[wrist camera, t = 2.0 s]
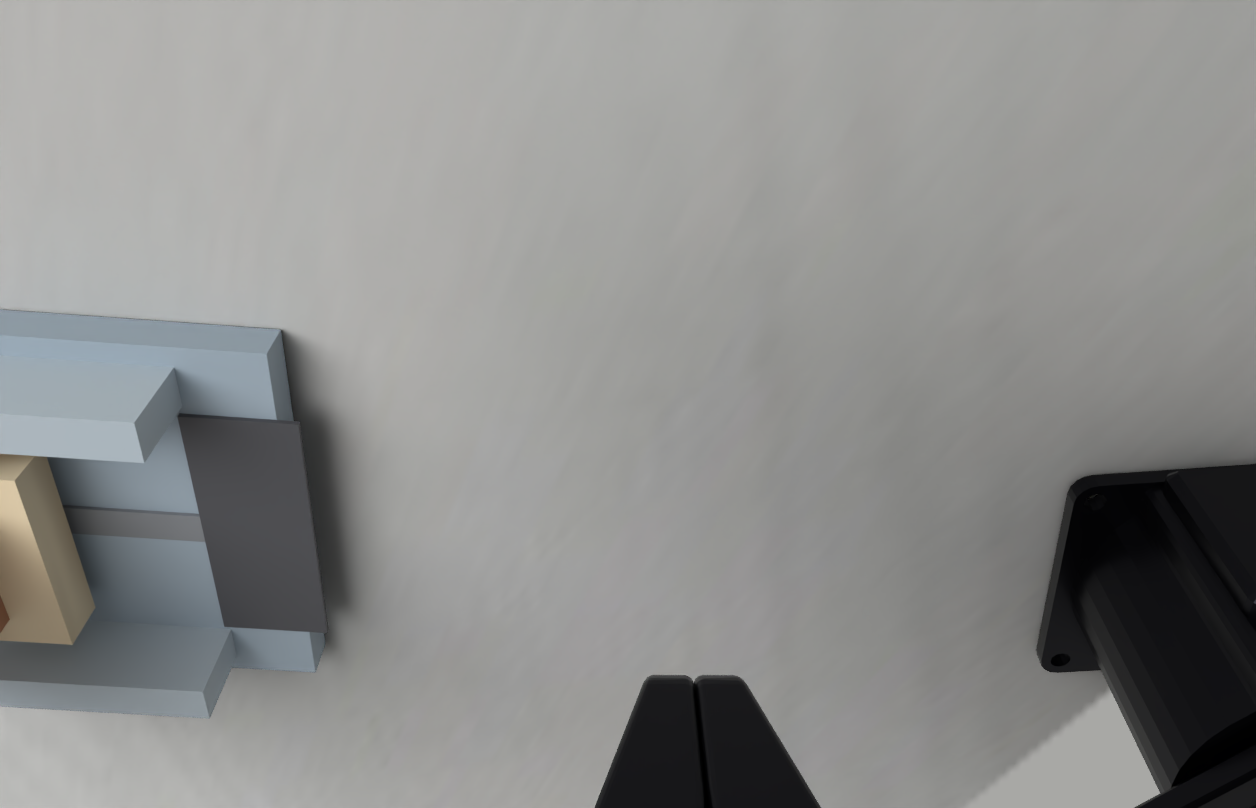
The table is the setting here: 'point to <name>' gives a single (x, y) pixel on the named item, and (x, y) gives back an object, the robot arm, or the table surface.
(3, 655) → the trough board
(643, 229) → the table surface
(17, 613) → the wooden block
